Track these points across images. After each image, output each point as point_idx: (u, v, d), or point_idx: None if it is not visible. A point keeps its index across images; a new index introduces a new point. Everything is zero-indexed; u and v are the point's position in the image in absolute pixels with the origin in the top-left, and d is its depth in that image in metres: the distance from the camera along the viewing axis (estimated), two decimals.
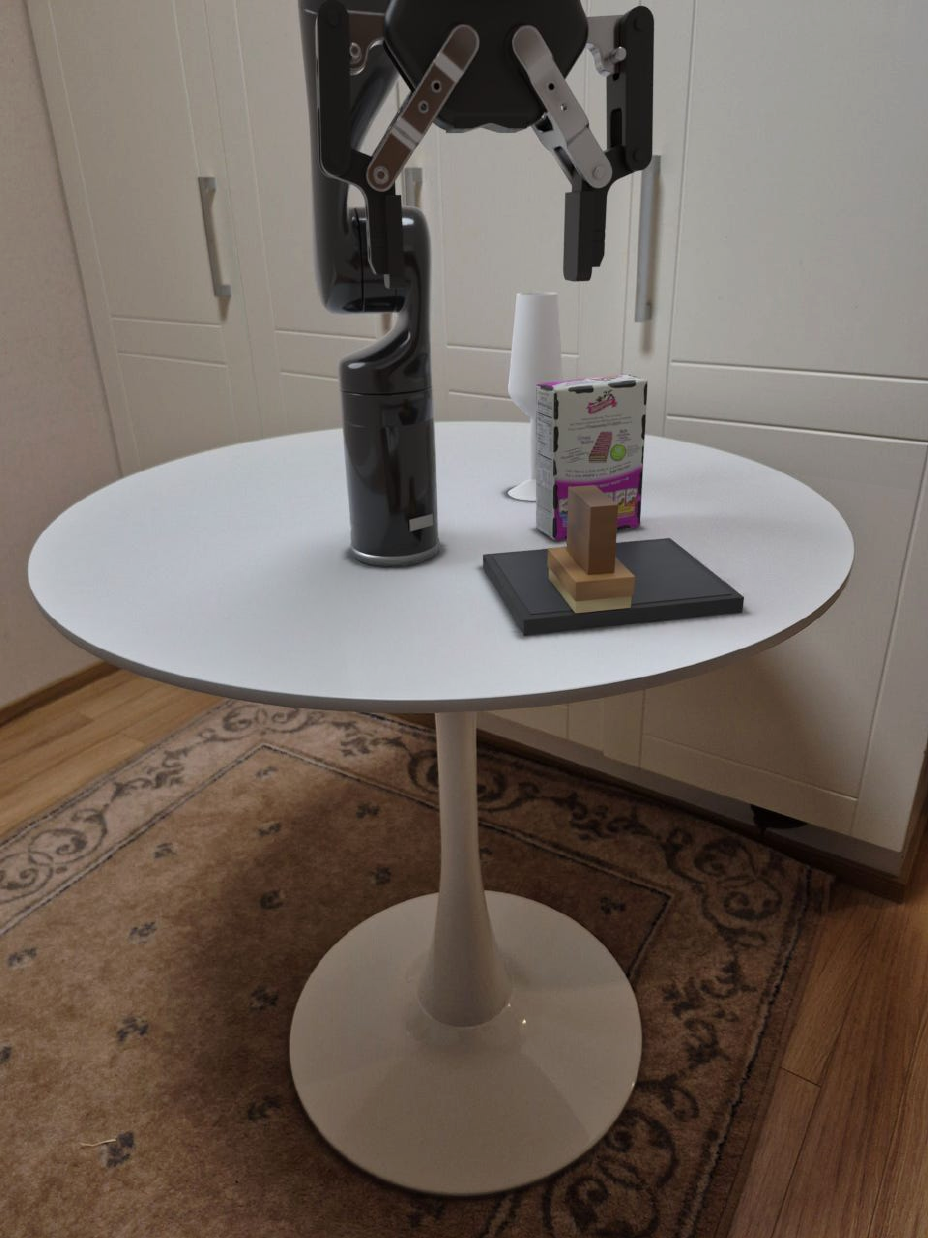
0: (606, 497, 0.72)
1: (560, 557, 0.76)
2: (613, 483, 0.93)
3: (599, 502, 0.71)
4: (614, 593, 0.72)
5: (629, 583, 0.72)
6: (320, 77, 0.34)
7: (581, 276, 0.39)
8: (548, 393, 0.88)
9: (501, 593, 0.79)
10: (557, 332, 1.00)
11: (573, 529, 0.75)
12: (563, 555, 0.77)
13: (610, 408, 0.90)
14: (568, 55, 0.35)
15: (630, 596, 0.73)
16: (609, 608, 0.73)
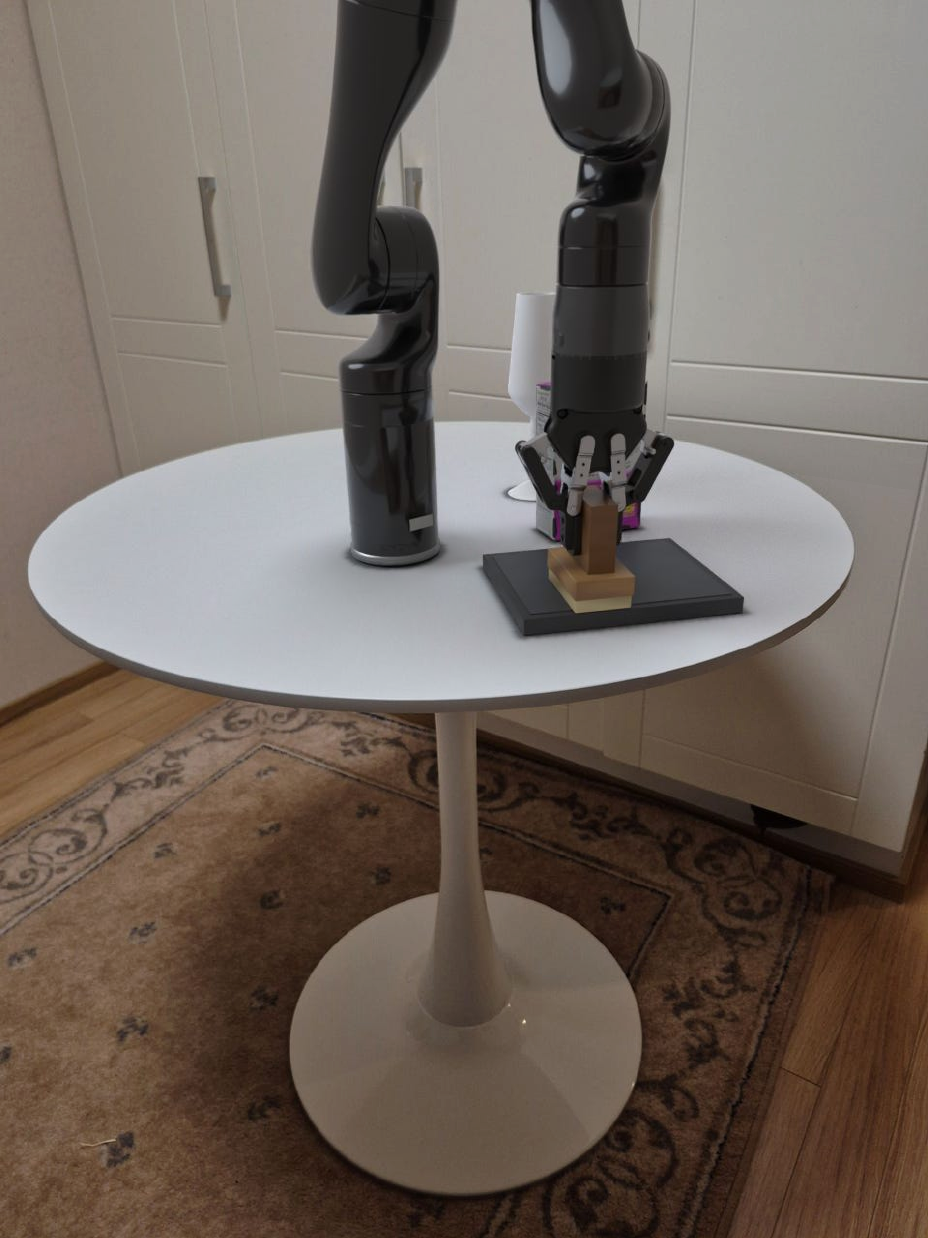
0: (606, 497, 0.72)
1: (560, 557, 0.76)
2: None
3: (599, 502, 0.71)
4: (614, 593, 0.72)
5: (629, 583, 0.72)
6: (534, 478, 0.70)
7: None
8: (548, 393, 0.88)
9: (501, 593, 0.79)
10: None
11: None
12: (563, 555, 0.77)
13: None
14: (637, 440, 0.70)
15: (630, 596, 0.73)
16: (609, 608, 0.73)
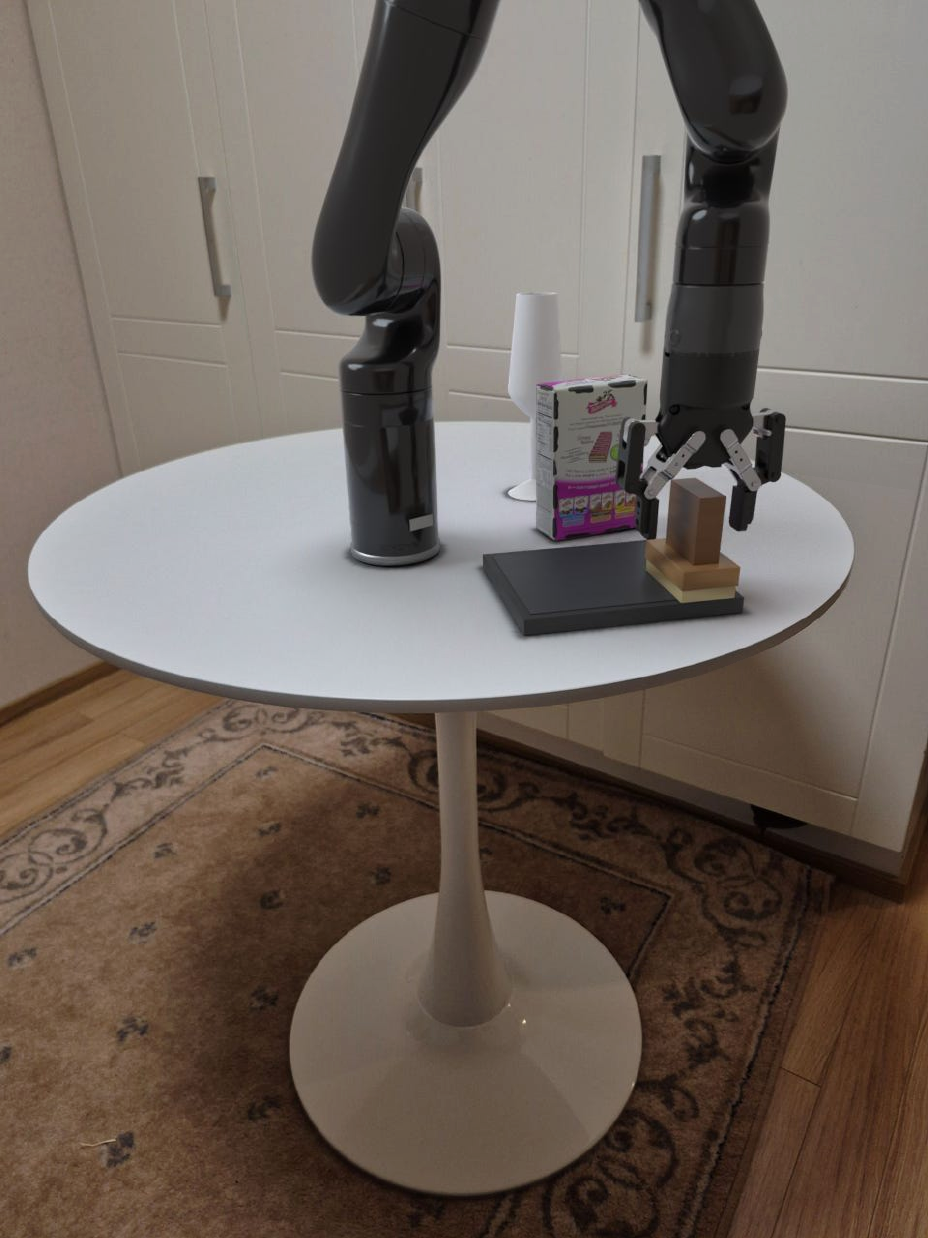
0: (712, 489, 0.74)
1: (661, 548, 0.78)
2: (613, 483, 0.93)
3: (707, 494, 0.72)
4: (719, 583, 0.74)
5: (734, 573, 0.74)
6: (629, 454, 0.71)
7: (741, 530, 0.76)
8: (548, 393, 0.88)
9: (501, 593, 0.79)
10: (556, 332, 1.00)
11: (676, 521, 0.76)
12: (663, 547, 0.78)
13: (610, 408, 0.90)
14: (743, 435, 0.72)
15: (734, 586, 0.74)
16: (713, 598, 0.74)
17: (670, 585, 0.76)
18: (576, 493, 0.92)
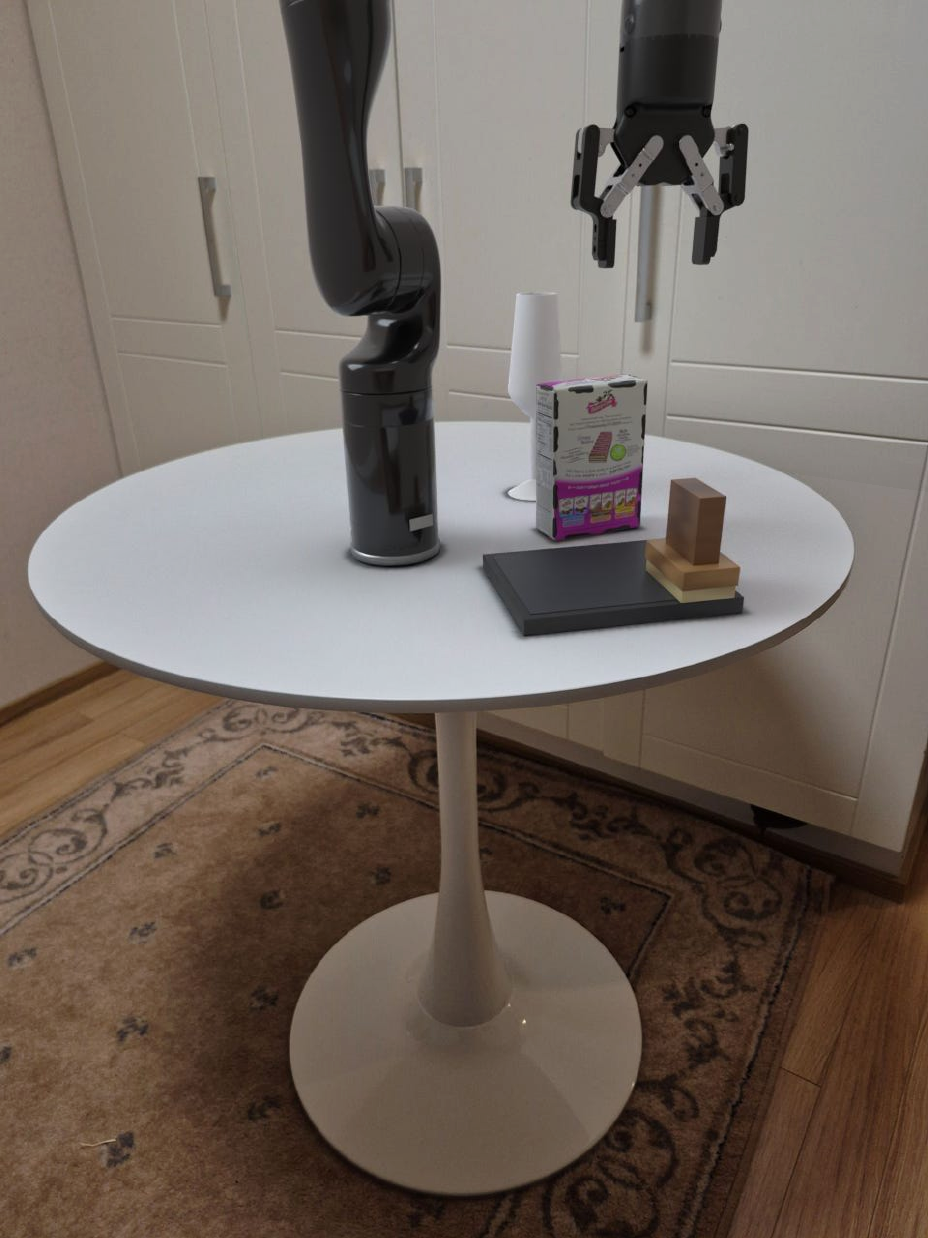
0: (712, 489, 0.74)
1: (661, 548, 0.78)
2: (613, 483, 0.93)
3: (707, 494, 0.72)
4: (719, 583, 0.74)
5: (734, 573, 0.74)
6: (583, 161, 0.67)
7: (704, 261, 0.73)
8: (548, 393, 0.88)
9: (501, 593, 0.79)
10: (556, 332, 1.00)
11: (676, 521, 0.76)
12: (663, 547, 0.78)
13: (610, 408, 0.90)
14: (704, 148, 0.69)
15: (734, 586, 0.74)
16: (713, 598, 0.74)
17: (670, 585, 0.76)
18: (576, 493, 0.92)
